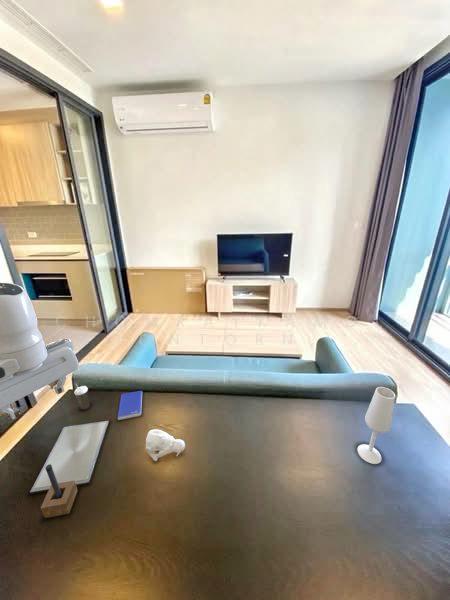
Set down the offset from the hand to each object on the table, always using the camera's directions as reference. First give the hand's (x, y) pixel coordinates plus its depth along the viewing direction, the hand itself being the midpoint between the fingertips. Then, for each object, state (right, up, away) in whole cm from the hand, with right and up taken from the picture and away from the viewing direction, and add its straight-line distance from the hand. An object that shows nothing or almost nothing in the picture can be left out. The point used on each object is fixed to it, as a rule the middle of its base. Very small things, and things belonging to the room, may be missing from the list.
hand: (39, 403), depth 60 cm
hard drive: (+8, -17, +38) cm, 43 cm away
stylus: (+2, -29, +6) cm, 30 cm away
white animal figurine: (+26, -24, +19) cm, 41 cm away
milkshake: (-10, -17, +38) cm, 43 cm away
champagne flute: (+91, -24, +18) cm, 95 cm away
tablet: (-3, -24, +19) cm, 31 cm away
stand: (+2, -29, +6) cm, 30 cm away
